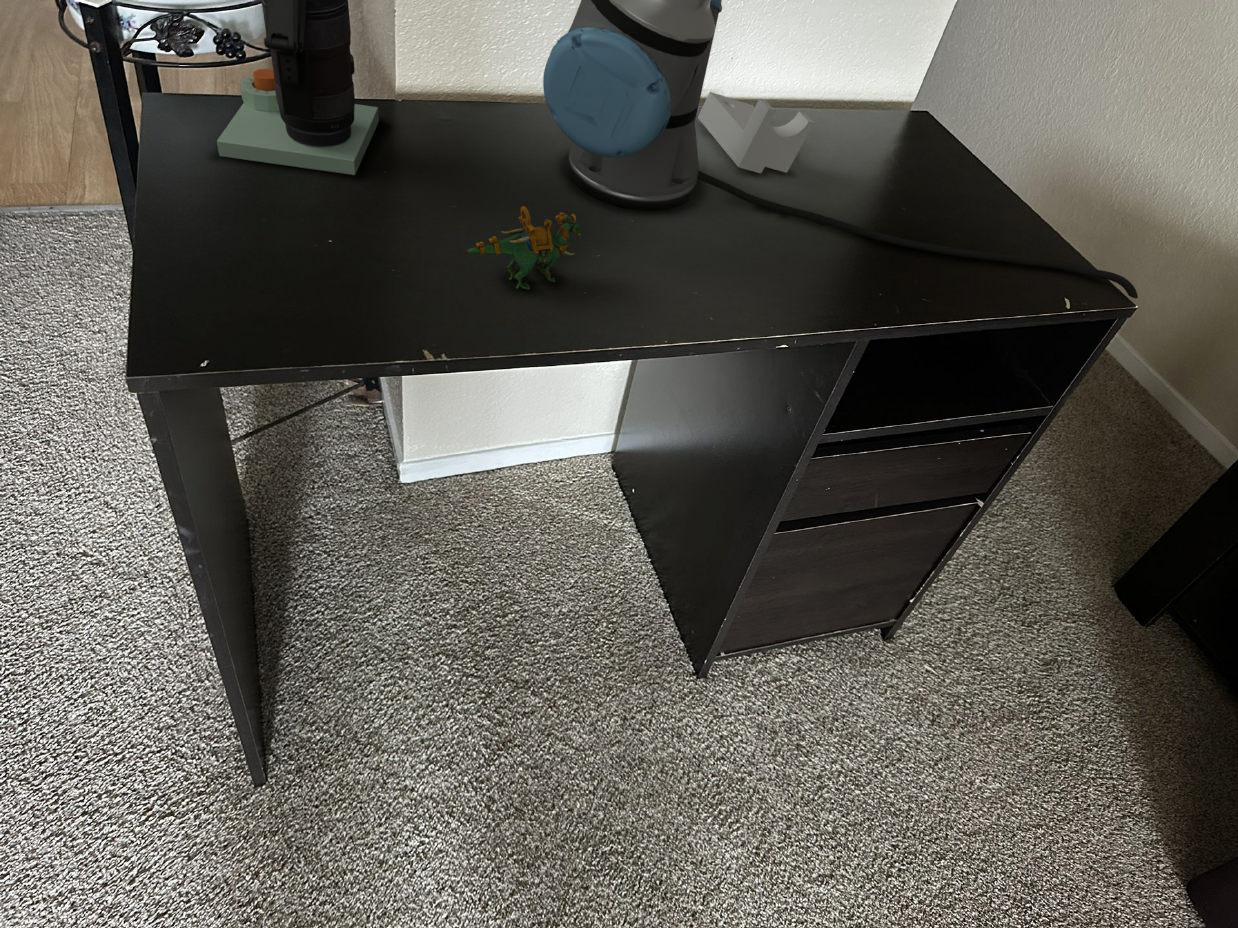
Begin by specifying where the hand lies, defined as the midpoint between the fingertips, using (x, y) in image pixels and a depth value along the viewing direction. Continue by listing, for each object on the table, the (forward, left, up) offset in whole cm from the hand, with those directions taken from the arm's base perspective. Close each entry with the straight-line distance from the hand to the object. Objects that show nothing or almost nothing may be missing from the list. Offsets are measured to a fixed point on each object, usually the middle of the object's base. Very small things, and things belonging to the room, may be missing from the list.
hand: (316, 87), depth 90 cm
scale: (+2, -2, -7) cm, 7 cm away
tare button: (+7, -6, -4) cm, 10 cm away
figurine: (-24, +20, -7) cm, 32 cm away
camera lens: (0, 0, -5) cm, 5 cm away
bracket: (-50, -16, -7) cm, 52 cm away
